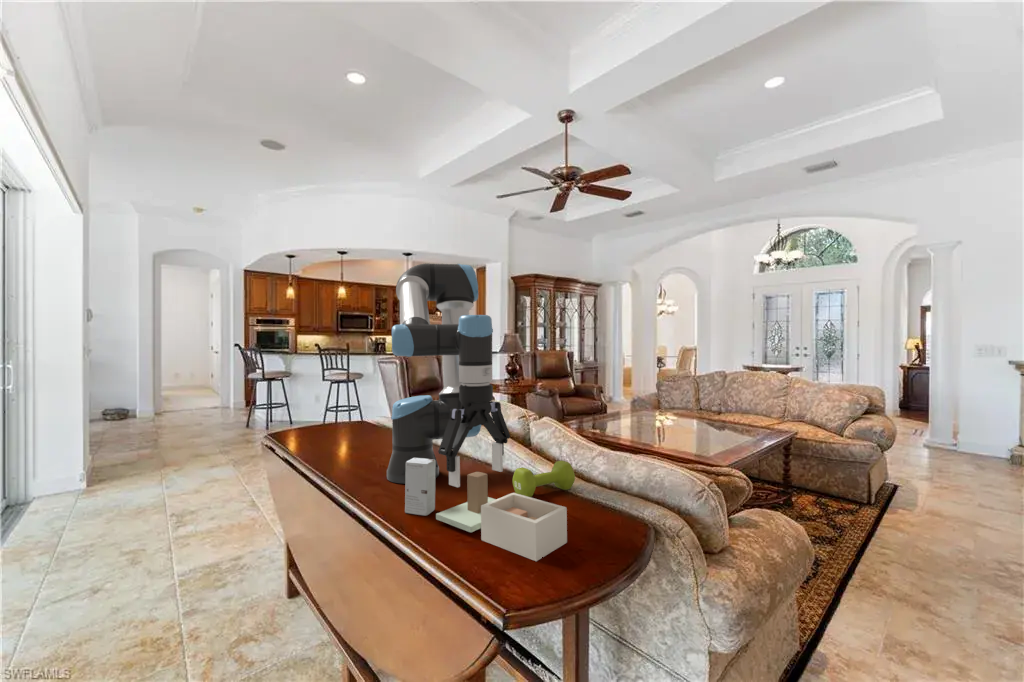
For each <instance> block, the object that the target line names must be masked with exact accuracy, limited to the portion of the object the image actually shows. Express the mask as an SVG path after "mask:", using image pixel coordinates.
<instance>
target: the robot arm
mask: <svg viewBox="0 0 1024 682" xmlns="http://www.w3.org/2000/svg"><path fill="white" fill-rule="evenodd" d="M395 293H396V297H397V299H398V300H399V324H394V325H393V326H392V327H391V353H392V354H393V355H394V356H396V357H408V358H411V357H430V356H431V357H432V356H442V368H443V369H442V372H443V373H442V374H443V375H442V376H443V388H442V390H441V391H440V392H439V393H438V399H433V397H432V395H428V394H427V395H416V396H414V395H413V396H411V397H404V398H401V399H399V400H396V401H395V402H394V403H393V404H392V408H391V409H392V411H391V414H392V415H391V420H392V423H391V424H392V425H391V426H392V428H391V429H392V432H391V433H392V437H391V438H392V440H391V441H392V445H391V446H392V453H391V456H390V459H389V462H388V466H387V468H386V479H387V481H389V482H391V483H394V484H403V485H404V484H405V472H406V462H407V461H408V460H410V459H412V458H425V459H433V460H436V468H435V479H436V478H438V477H439V475H440V466H439V463H438V460H437V457H436V455H435V452H434V448H433V440H441V441H440V442H441V443H440V444H439V448H438V451H437V452H438V455H442V456H445V457H446V470H447V472H448V485H449V486H452V487H455V488H460V487H461V464H460V463H461V460H460V458H461V457H460V455H458V454H459V451H460V450H461V447H462V445H463V443H464V442H465V440H466V438H474V437H477V436H478V435H479V434H480V432H481V429H482V426H484V427H485V429H486V431H487V432H488V433H489V435H490V436H491V437H492V439H493V440H494V441H492V442H491V461H492V462H491V470H492V471H494V472H495V471H496V472H500V473H501V472H503V471H504V469H503V467H504V465H503V464H504V463H503V461H504V460H503V459H504V458H503V456H504V453H505V452H504V451H505V449H504V448H505V447H504V446H505V444H507V443H508V440H509V439H510V438H511V434H510V432H509V428H508V426H507V423H506V421H505V417H504V415H503V412H502V405H501V402H499V401H493V399H494V389H493V385H492V384H491V383H492V382H493V333H494V328H493V325H492V324H493V320H492V317H491V316H490V315H488V314H470V310H472V308H473V307H474V302H477V301H478V299H479V283H478V278H477V274H476V270H475V269H474V268H473V266H472V265H469V264H461V263H430V262H429V263H419V264H417V265H414V266H412V267H410V268H408V269H407V270H406V271H404V272H403V273H402V274H401V275H400V277H399V278H398V279H397V282H396V286H395ZM428 302H436V303H435V304H436V308H437V309H438V311H440V312H441V324H440V323H439V324H437V323H436V324H432V323H431V321H430V314H429V306H428V305H429V304H428Z"/></svg>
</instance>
